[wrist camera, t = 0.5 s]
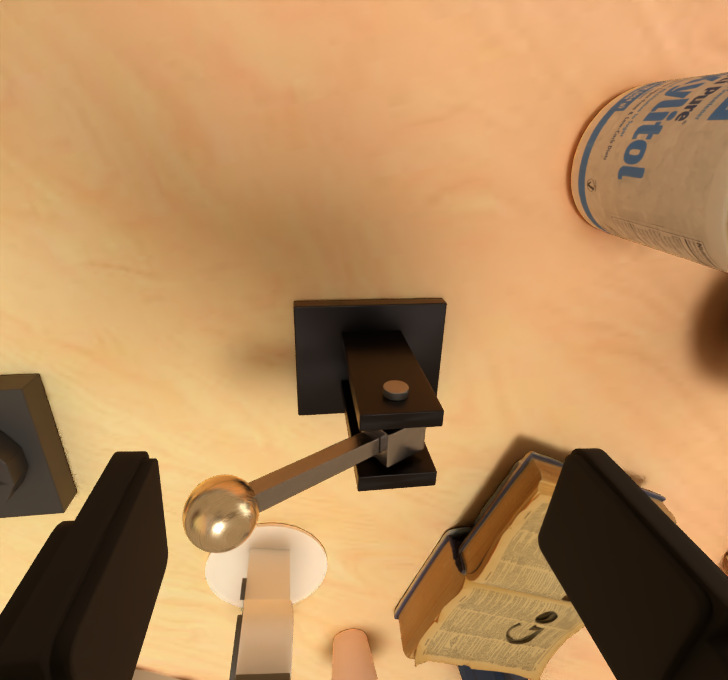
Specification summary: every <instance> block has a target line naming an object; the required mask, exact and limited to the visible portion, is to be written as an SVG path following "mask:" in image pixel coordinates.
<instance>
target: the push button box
mask: <svg viewBox="0 0 728 680" xmlns="http://www.w3.org/2000/svg"><path fill="white" fill-rule="evenodd" d="M76 493H77V491H76V488H75V485H74V482H73V479H72V476H71V473H70V470H69V466H68V463H67V460H66V457H65V454H64V451H63V448H62V445H61V441H60V438H59V435H58V432H57V429H56V426H55V423H54V420H53V417H52V413H51V410H50V407H49V404H48V401H47V398H46V395H45V392H44V389H43V385H42V382H41V379H40V376H39V374H25V375H0V518H6V517H18V516H31V515H44V514H56V513H64V512H65V511H66V509H67V507H68V506H69V504H70V503H71V501H72V500H73V498H74V496H75V495H76Z"/></svg>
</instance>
